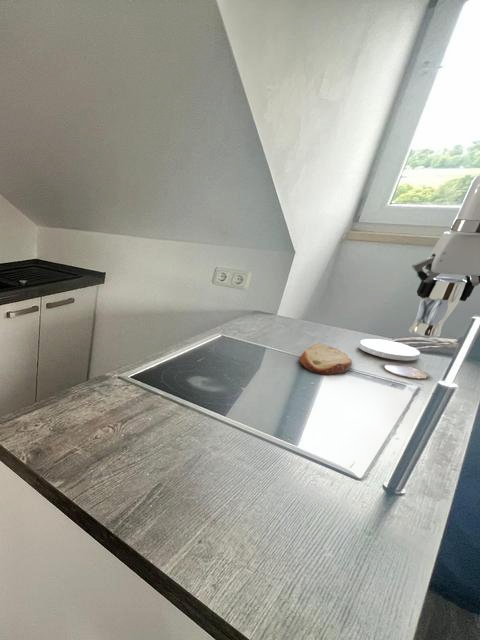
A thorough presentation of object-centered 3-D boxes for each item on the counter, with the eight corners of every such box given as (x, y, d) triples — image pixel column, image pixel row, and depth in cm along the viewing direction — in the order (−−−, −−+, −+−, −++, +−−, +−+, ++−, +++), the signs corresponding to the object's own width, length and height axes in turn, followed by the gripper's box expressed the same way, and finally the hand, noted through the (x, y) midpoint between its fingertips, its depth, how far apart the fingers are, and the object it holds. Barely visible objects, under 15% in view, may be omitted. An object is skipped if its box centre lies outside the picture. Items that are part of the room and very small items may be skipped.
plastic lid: (425, 366, 115) (429, 359, 114) (365, 358, 120) (368, 351, 119) (405, 349, 126) (408, 342, 125) (351, 343, 132) (354, 336, 131)
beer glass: (437, 332, 108) (463, 278, 101) (445, 339, 102) (474, 283, 96) (403, 327, 111) (426, 275, 105) (409, 335, 106) (434, 280, 100)
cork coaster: (418, 368, 114) (419, 367, 113) (433, 381, 106) (434, 380, 106) (379, 363, 117) (379, 362, 117) (391, 375, 110) (391, 374, 110)
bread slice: (326, 349, 127) (330, 338, 125) (376, 374, 111) (381, 362, 109) (272, 350, 127) (275, 340, 125) (314, 375, 110) (319, 363, 109)
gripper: (514, 227, 95) (477, 298, 102) (420, 225, 102) (392, 291, 109) (536, 230, 89) (495, 305, 96) (434, 227, 95) (403, 298, 103)
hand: (440, 297), depth 102 cm, fingers closed on beer glass, 7 cm apart
